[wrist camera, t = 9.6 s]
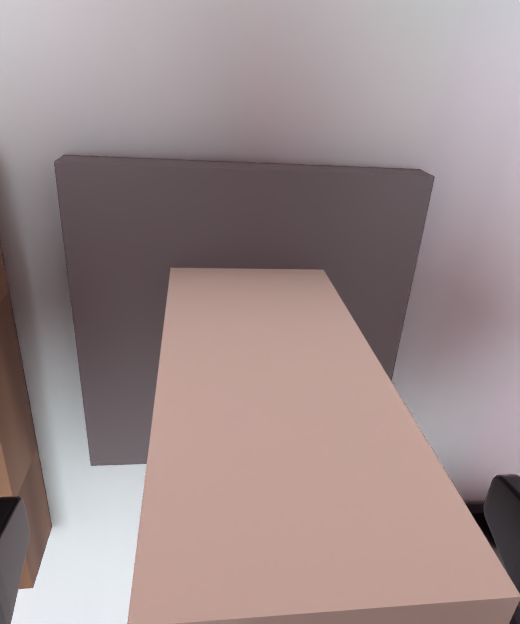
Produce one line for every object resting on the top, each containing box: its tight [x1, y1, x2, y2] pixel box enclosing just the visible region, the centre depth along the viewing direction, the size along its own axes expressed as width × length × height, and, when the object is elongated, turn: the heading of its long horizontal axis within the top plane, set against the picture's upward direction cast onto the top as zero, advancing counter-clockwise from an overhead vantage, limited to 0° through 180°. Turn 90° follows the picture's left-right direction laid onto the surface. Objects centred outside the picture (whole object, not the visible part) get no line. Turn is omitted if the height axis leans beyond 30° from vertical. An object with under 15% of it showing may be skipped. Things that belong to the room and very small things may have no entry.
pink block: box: [127, 268, 520, 624], centre depth 11 cm, size 4×4×10 cm
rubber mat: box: [54, 155, 434, 466], centre depth 16 cm, size 10×10×1 cm
